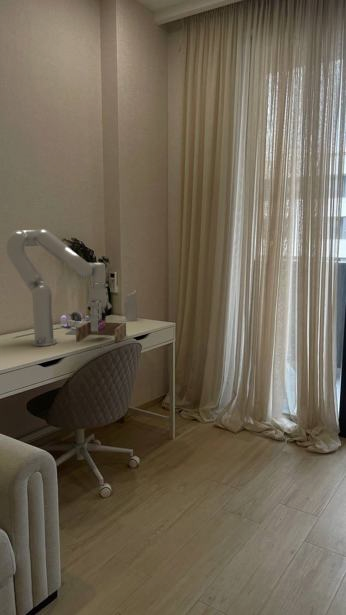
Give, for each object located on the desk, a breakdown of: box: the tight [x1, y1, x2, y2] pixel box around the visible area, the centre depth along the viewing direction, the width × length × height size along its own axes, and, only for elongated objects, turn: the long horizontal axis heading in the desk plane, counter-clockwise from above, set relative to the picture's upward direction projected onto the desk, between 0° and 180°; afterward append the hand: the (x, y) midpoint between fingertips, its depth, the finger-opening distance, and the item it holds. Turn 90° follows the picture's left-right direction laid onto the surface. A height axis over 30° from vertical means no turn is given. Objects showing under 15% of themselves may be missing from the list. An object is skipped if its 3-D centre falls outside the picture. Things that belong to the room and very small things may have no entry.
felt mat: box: [65, 328, 76, 336], centre depth 264 cm, size 12×8×1 cm, turn 171°
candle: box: [115, 290, 138, 322], centre depth 299 cm, size 7×14×20 cm, turn 84°
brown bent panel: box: [75, 321, 127, 343], centre depth 248 cm, size 19×22×7 cm
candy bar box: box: [89, 301, 107, 332], centre depth 244 cm, size 11×5×16 cm, turn 168°
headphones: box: [60, 311, 91, 329], centre depth 281 cm, size 22×8×22 cm
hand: (98, 319), depth 244 cm, fingers closed on candy bar box, 5 cm apart
